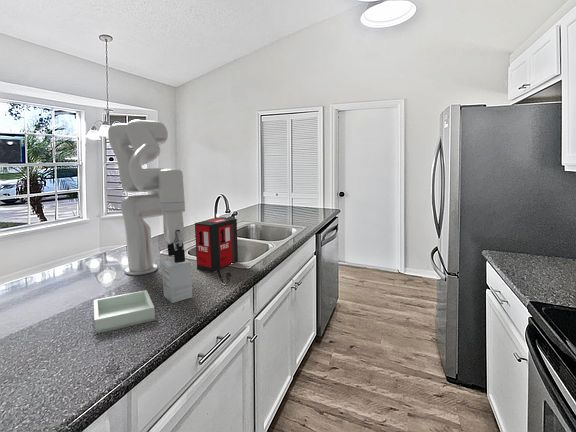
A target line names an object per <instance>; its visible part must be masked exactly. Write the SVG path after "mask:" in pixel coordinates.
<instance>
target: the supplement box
mask: <svg viewBox="0 0 576 432" xmlns="http://www.w3.org/2000/svg"><path fill="white" fill-rule="evenodd" d="M161 273H162V287H163V297H164V298H165V299H167V300H168V301H169V302H170V303H171V304H175V303H177V302H182V301H183V300H184V301H185V300H187V299H192V298H193V283H192V265H191V262H190V261H189V260H188V259H185V262H179V263H175V261H174V258H173V259H168V260H162V261H161Z"/></svg>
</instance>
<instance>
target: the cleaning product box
mask: <svg viewBox="0 0 576 432" xmlns="http://www.w3.org/2000/svg"><path fill="white" fill-rule="evenodd" d="M194 235H195V253H196V254H195V255H196V270H200V271H205V272H208V273H209V272H210V273H216V272H217V271H219V270H222V269H224V268H227V267H230V266H231V265H230V264H231V263H234V264H237V263H238V262H239V255H238V254H239V252H238V251H239V250H238V219H237V218H233V217H225V216H221V217H216V218H212V219H207V220H202V221H198V222H194ZM229 265H230V266H229Z"/></svg>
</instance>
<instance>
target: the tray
mask: <svg viewBox="0 0 576 432" xmlns="http://www.w3.org/2000/svg"><path fill="white" fill-rule="evenodd" d="M93 309H94V310H93V318H94V319H93V320H94V327H95V328H94V329H95V334H96V333H98V334H101V332H102V333H106V332H110V331H115V330H119V329H123V328H127V327H132V326H136V325H141V324H144V323H150V322H153V321H156V314H155V313H156V312H155V305H154V303H153V301H152V299H151V296H150V294H149V293H148V290H147V289H145V290H139V291H134V292H127V293H121V294H117V295H113V296H112V295H111V296H106V297H102V298H96V299H93Z"/></svg>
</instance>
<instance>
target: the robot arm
mask: <svg viewBox="0 0 576 432" xmlns="http://www.w3.org/2000/svg"><path fill="white" fill-rule="evenodd" d="M107 131H108V134H107V135H108V136H107V137H108V141H109V142H108V143H109V145H110V147H111V150H112V151H113V154H114V156H115V158H116V162H117V167H118V172H119V179H120V184H121V189H122V190H123V191H124V192H126V193H143V192H144V193H146V192H150V194H138V195H137V194H135V195H129V196H125V197H124V198H123V199H122V200H121V201H120V211H121V215H122V217H123V222H124V223H123V224H124V229H125V240H126V241H125V242H126V252H127V253H126V254H127V264H128V266H127V267H125V269H124V273H125V274H127V275H130V276H139V275H147V274H151V273H153V272H155V271H157V270H158V265H157V264H155V263H154V257H153V255H154V254H153V244H152V243H153V242H152V231H151V230H152V229H151V227H150V225H149V224H148V223H147V222H146V221H145V220H144V219H147V218H156V217H163V218H162V224H163V239H164V240H165V242H166V243H167V255H168V257H172V256H173V257H174V258H173V259H174V261H175V263H179V262H185V260H186V253H185V246H184V242H185V226H184V215H183V213H184V212H186V206H185V205H186V204H185V203H186V202H185V187H184V175H183V171H182V170H181V169H178V168H170V167H169V168H168V167H167V168H165V167H162V168H161V167H160V168H159V167H158V168H156V167H155V168H154V167H153V168H149V167H148V168H143V167H142V166H144V165H147V164H148V163H150V162H153V161H155V160H156V159H157V158H158V157H159V156H160V154H161V147H160V145H163V144H165V143H166V142H167V141H168V137H169V136H168V135H169V134H168V133H169V132H168V129H167V126H166V125H165V124H164V123H163V122H161V121H157V120H145V119H133V120H130V121H128V122H127V123H125V122H124V123H122V122H120V123H113V124H111V125H110V126H109V127H108V130H107Z"/></svg>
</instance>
